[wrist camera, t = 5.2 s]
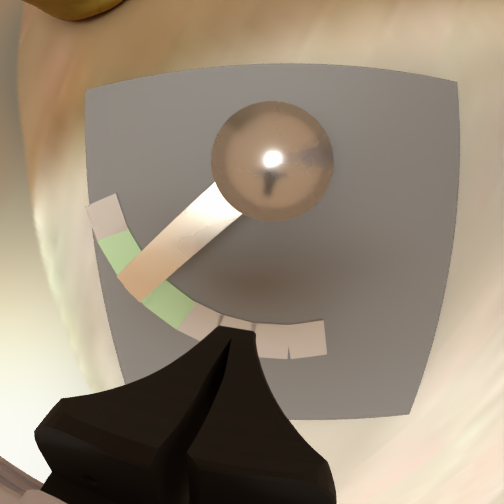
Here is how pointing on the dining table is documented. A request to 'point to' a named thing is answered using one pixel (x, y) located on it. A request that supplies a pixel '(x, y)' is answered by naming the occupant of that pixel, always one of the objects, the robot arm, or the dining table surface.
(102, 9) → the mug
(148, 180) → the tuner board
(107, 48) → the dining table surface
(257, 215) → the tuning dial
